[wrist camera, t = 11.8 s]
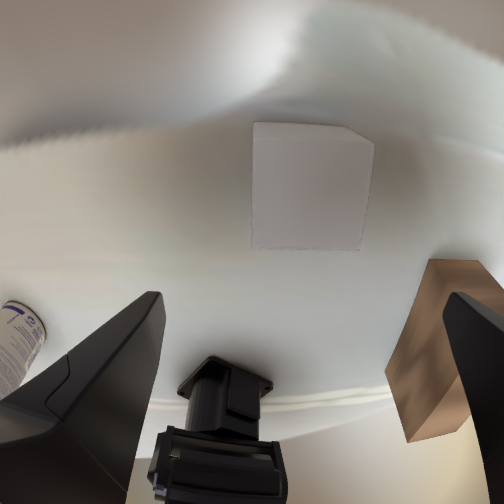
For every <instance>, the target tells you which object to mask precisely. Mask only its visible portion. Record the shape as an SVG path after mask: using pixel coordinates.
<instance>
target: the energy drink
mask: <svg viewBox="0 0 504 504" xmlns="http://www.w3.org/2000/svg"><path fill="white" fill-rule="evenodd" d="M44 342H45V331H44V328H43V325H42V323H41V322H40V320H39V319H38V317H37V316H36V315H35V314H34V313H33V312H32V311H31V310H30V309H28V308H27V307H25V306H23V305H22V304H19V303H15V302H14V303H13V302H11V303H6V304H5V305H4V306H3V307H2V308H1V310H0V400H1V399H3V398H4V397H6V396H7V395H9V394H10V393H12V392H13V391H15V390H16V389H18V388H19V386H20V384H21V382H22V380H23V379H24V377H25V375H26V373H27V371H28V370H29V368H30V366H31V364H32V362H33V361H34V359H35V357H36V356H37V354H38V352H39V350H40V349H41V347H42V345H43V344H44Z"/></svg>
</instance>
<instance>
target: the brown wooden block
mask: <svg viewBox="0 0 504 504" xmlns="http://www.w3.org/2000/svg"><path fill="white" fill-rule="evenodd" d="M454 291H462V292H464V293H466V294H468V295H469V296H471V297H473V298H474V299H476V300H478V301H479V302H481V303H483V304H484V305H486V306H488V307H489V308H491V309H493V310H494V311H496V312H498V313H499V314H501V315H502V316H504V289H503V288H502V287H501V286H500V284H499V283H498V282H497V281H496V280H495V279H494V278H493V276H492V275H491V274H490V273H489V272H488V271H487V270H486V269H485V268H484V267H483V265H482V264H481V263H480V262H479V261H478V260H443V259H429V260H428V263H427V266H426V269H425V272H424V275H423V278H422V281H421V284H420V287H419V290H418V292H417V295H416V298H415V300H414V303H413V306H412V308H411V311H410V314H409V316H408V319H407V321H406V324H405V326H404V329H403V331H402V333H401V336H400V338H399V340H398V343H397V345H396V347H395V350H394V352H393V354H392V356H391V358H390V361H389V363H388V365H387V367H386V369H385V374H386V377H387V380H388V383H389V386H390V389H391V392H392V395H393V398H394V401H395V404H396V407H397V410H398V413H399V417H400V420H401V423H402V426H403V430H404V433H405V437H406V440H407V443H411V442H415V441H419V440H424V439H429V438H433V437H437V436H441V435H445V434H448V433H452V432H456V431H457V430H458V429H459V428H460V426H461V425H462V424H463V423H464V422H465V421H466V420H467V419H468V417H469V416H470V415H471V411H470V408H469V404H468V401H467V398H466V394H465V391H464V388H463V385H462V382H461V379H460V376H459V373H458V370H457V367H456V364H455V361H454V358H453V355H452V351H451V348H450V344H449V340H448V336H447V333H446V329H445V326H444V322H443V319H442V313H443V309H444V307H445V305H446V302H447V300H448V297H449V295H450V293H451V292H454Z"/></svg>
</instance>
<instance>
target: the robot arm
mask: <svg viewBox="0 0 504 504" xmlns="http://www.w3.org/2000/svg"><path fill="white" fill-rule="evenodd" d="M442 319H443V322H444V326H445V329H446V333H447V336H448V340H449V344H450V348H451V351H452V355H453V358H454V361H455V364H456V367H457V370H458V373H459V376H460V379H461V382H462V385H463V388H464V391H465V394H466V398H467V401H468V404H469V408H470V411H471V415H472V418H473V422H474V426H475V430H476V434H477V438H478V442H479V446H480V450H481V455H482V459H483V463H484V470H485V474H486V480H487V486H488V492H489V499H490V504H504V316H502V315H501V314H499V313H498V312H496V311H494V310H493V309H491V308H489V307H488V306H486V305H484V304H483V303H481V302H479V301H478V300H476V299H474V298H473V297H471V296H469V295H468V294H466V293H464V292H462V291H454V292H451V293H450V295H449V297H448V300H447V302H446V305H445V307H444V309H443V313H442ZM165 323H166V313H165V307H164V302H163V296H162V294H161V292H157V291H147V292H145V293H144V294H143V295H141V296H140V297H139V298H137V299H136V300H135V301H134V302H132V303H131V304H130V305H128V306H127V307H126V308H124V309H123V310H122V311H120V312H119V313H118V314H116V315H115V316H114V317H113V318H111V319H110V320H109V321H107V322H106V323H105V324H103V325H102V326H101V327H100V328H98V329H97V330H96V331H94V332H93V333H92V334H91V335H89V336H88V337H87V338H85V339H84V340H83V341H82V342H80V343H79V344H78V345H77V346H75V347H74V348H73V349H71V350H70V351H69V352H68V353H67V354H65V355H64V356H62V357H61V358H60V359H59V360H57V361H56V362H55V363H54V364H52V365H51V366H50V367H48V368H47V369H46V370H44V371H43V372H41V373H40V374H39V375H37V376H36V377H34V378H33V379H31V380H30V381H28V382H27V383H25V384H24V385H22V386H21V387H19V388H18V389H16V390H15V391H13V392H12V393H10V394H9V395H7V396H6V397H4V398H3V399H1V400H0V504H125V502H126V497H127V491H128V487H129V482H130V477H131V473H132V469H133V464H134V460H135V456H136V451H137V447H138V443H139V439H140V435H141V431H142V427H143V423H144V419H145V415H146V411H147V407H148V403H149V400H150V396H151V392H152V388H153V385H154V381H155V377H156V374H157V370H158V366H159V360H160V354H161V347H162V341H163V335H164V329H165ZM272 389H273V383H272V382H270V381H267V380H265V379H263V378H260V377H258V376H255V375H253V374H251V373H249V372H246V371H244V370H242V369H239V368H237V367H235V366H233V365H231V364H228V363H226V362H224V361H222V360H220V359H218V358H215V357H209V358H207V360H206V361H205V362H204V363H203V364H202V365H201V366H200V367H199V368H198V369H197V370H196V371H195V372H194V373H193V374H192V375H191V376H190V377H189V378H188V379H187V380H186V381H185V382H184V383H183V384H182V385H181V386H180V387H179V388H178V390H177V394H178V395H179V396H182V397H184V398H186V399H189V406H188V412H187V418H186V424H185V430H183V429H178V428H174V426H169V425H168V426H167V430H166V432H163V433H158V436H157V441H156V445H155V450H154V454H153V457H152V460H151V464H150V467H149V471H148V475H147V479H148V480H149V481H150V483H151V484H152V485H153V491H155V500H158V501H164V502H165V504H286V501H287V495H288V481H287V476H286V471H285V467H284V462H283V458H282V453H281V449H280V444H279V442H278V441H271V442H266V441H258V440H259V419H260V399H261V398H262V397H263V396H265V395H266V394H267V393H269V392H270V391H271V390H272ZM171 455H172V456H171ZM174 456H177V457H174Z"/></svg>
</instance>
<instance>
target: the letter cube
mask: <svg viewBox="0 0 504 504" xmlns="http://www.w3.org/2000/svg"><path fill="white" fill-rule="evenodd" d="M374 151H375V144H374V143H372V142H371V141H369V140H367V139H366V138H364V137H362V136H360V135H359V134H357V133H355V132H353V131H352V130H350V129H348V128H346V127H342V126H331V125H318V124H302V123H281V122H254V124H253V174H252V249H299V250H360V244H361V239H362V233H363V228H364V222H365V216H366V210H367V203H368V197H369V190H370V183H371V176H372V168H373V160H374Z"/></svg>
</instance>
